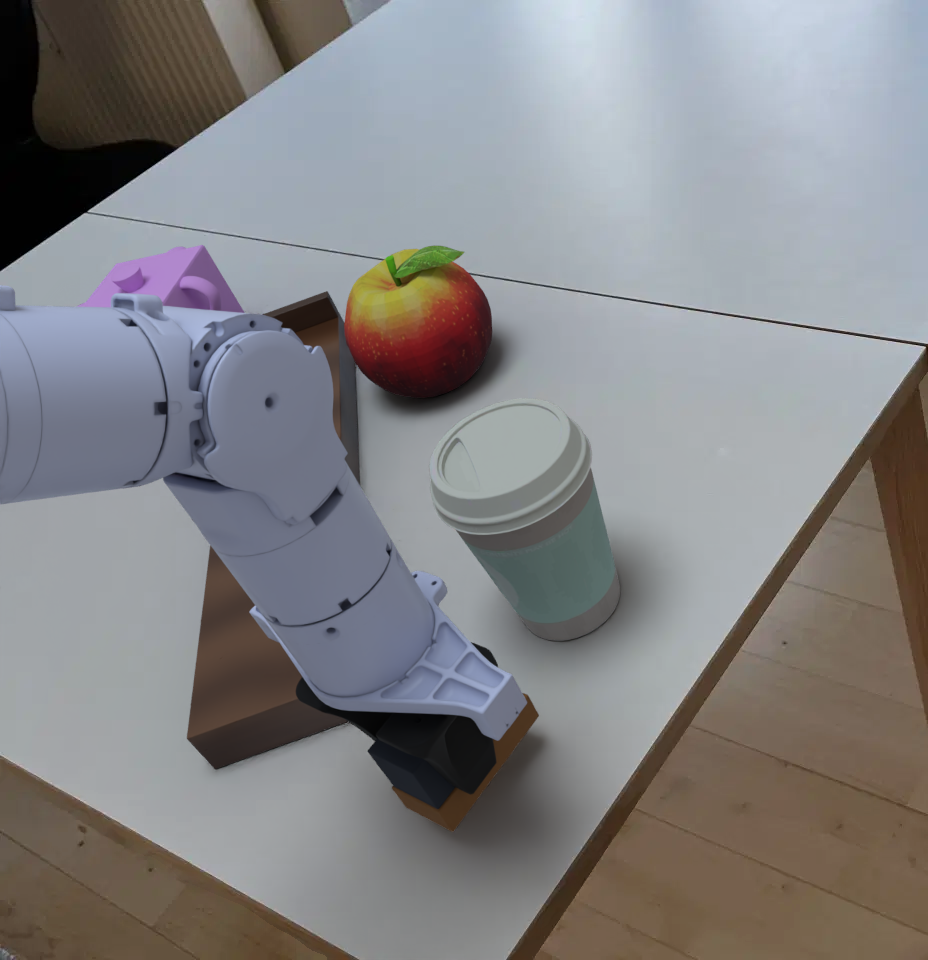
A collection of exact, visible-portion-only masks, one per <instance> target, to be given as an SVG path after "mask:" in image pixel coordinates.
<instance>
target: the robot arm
mask: <svg viewBox="0 0 928 960" xmlns="http://www.w3.org/2000/svg"><path fill="white" fill-rule="evenodd" d="M281 325H282V322H280V321H278V320H277V319H275V318H272V317H269V316H265V315H262V314H260V313H249V312H245V313H238V312H227V311H215V310H204V309H192V308H183V307H172V306H163V303H162V300H161V299H160V298H159V297H158V296H156V295H146V294H128V293H115V294H114V295H113V296H112V298H111V307H76V306H70V305H69V306H68V305H67V306H64V305H62V306H61V305H26V304H25V305H24V304H23V305H19V304H17V305H16V292H15V289H14V288H13V287H12V286H10V285H3V284H0V505H8V504H15V503H23V502H29V501H37V500H45V499H53V498H60V497H67V496H68V497H69V496H74V495H83V494H90V493H99V492H105V491H115V490H120V489H131V488H138V487H142V486H145V485H146V486H147V485H149V484H152V483H155V482H157V481H159V480H161V479H162V481H163V483H164V484H165V485H166V487H167V488H168V489H169V491H170V492H171V493H172V495H173V496H174V497H175V499H176V500H177V502H178V503H179V504H180V505H181V507H182V508H183V509H184V511H185V512H186V514H187V515H188V516H189V517H190V519H191V520H192V522H193V523H194V524H195V525H196V527H197V529H198V530H199V532H200V534H201V535H202V536H203V537H204V539H205V540H206V541H207V543H208V544H209V546H210V545H211V547H212V548H213V549H214V551H215V552H216V553H217V555H218V556H219V557H220V559H221V560H222V561H223V563H224V564H225V565H226V567H227V568H228V569H229V571H230V572H231V573H232V575H233V576H234V577H235V579H236V580H237V581H238V583H239V584H240V586H241V587H242V588H243V590H244V591H245V592H246V594H247V595H248V596H249V598H250V599H251V600H252V602H253V603H254V604H255V606H254V607H253V608H252V609H251V610H250V612H249V613H250V614H251V615H252V617H253V618H254V619H255V621H256V622H257V623H258V625H259V626H260V627H261V629H262V630H263V631H264V633H265V634H266V635H267V637H268V638H270V639H272V640H274V641H276V642H279V643H280V644H281V646H282V647H283V649H284V650H285V652H286V653H287V654H288V656H289V657H290V659H291V660H292V662H293V663H294V665H295V666H296V668H297V669H298V671H299V672H300V674H301V675H302V678H301V679H300V681H299V682H298V684H297V686H296V696H297V698H298V699H299V701H301V702H302V703H304V704H307V705H309V706H311V707H313V708H315V709H317V710H319V711H321V712H323V713H327V714H331V715H335V716H338V717H342V718H343V719H345V720H347V721H348V723H350V724H351V725H352V726H354V727H356V728H357V729H358V730H360V731H361V732H362V733H363V734H365V735H366V736H367V737H369V738H370V739H371V740H373V741H374V742H375V741H376V740H377V739H379V740H380V741H382V742H384V743H386V744H389V745H391V746H393V747H395V748H397V749H399V750H401V751H403V752H405V753H407V754H410V755H413V756H416V757H419V758H422V759H424V760H426V761H427V762H428V763H429V764H430V765H431V766H432V767H433V768H434V769H435V770H436V771H437V772H438V773H439V774H440V775H441V776H442V777H443V778H444V779H445V780H446V781H448V782H449V783H450V784H451V785H453V786H454V787H456V788H458V789H460V790H462V791H464V792H466V793H468V794H470V795H471V794H474V792H475V791H476V790H477V788H478V787H479V786H480V784H481V783H482V782H483V780H484V779H485V778H486V776H487V775H488V774H489V772H490V771H491V770H492V768H493V767H494V766H495V764H496V763H497V762H496V754H495V749H494V743H493V739H495V740H497V741H498V740H500V739H501V737H502V736H503V735H504V733H505V732H506V731H507V730H508V728H510V726H511V725H512V724H513V722H514V721H515V720H516V718H517V717H518V716H519V714H520V712H521V711H522V710H523V708H524V707H525V706H526V704H527V701H526V699H525V697H524V695H523V693H524V692H522V690H521V688H520V686H519V685H518V682H517V681H516V678H515V677H514V676H513V673H511V672H508V671H506V670H504V669H502V668H500V667H499V665H498V662H497V660H496V657H495V656H494V654H493V652H492V651H491V650H490V649H488V648H486V647H485V646H482V645H479V644H477V643H474V642H472V641H470V640H469V639H468V638H467V637H466V635H465V634H464V633H463V632H462V630H461V629H460V628H458V626H456V624H455V623H454V622H453V621H452V620H451V619H450V618H449V616H448V615H447V614H446V613H445V612H444V611H443V610H442V609H441V608H440V604H441V602H442V601H443V600H444V599H445V597H446V596H447V594H448V587H447V585H446V584H445V582H444V580H443V578H441V577H440V576H438V575H435V574H433V573H432V574H431V573H429V572H426V571H423V570H414V571H410V569H409V567H408V566H407V564H406V562H405V560H404V559H403V557H402V555H401V553H400V552H399V550H398V548H397V546H396V545H395V543H394V542H393V540H392V538H391V536H390V535H389V533H388V531H387V529H386V527H385V526H384V523H382V520H381V519H380V517H379V516H378V514H377V512H376V510H375V508H374V507H373V505H372V503H371V502H370V500H369V498H368V497H367V495H366V494H365V492H364V489H362V487H361V484H360V485H359V483H358V481H357V480H356V478H355V476H354V475H353V473H352V471H351V470H350V468H349V466H348V464H347V463H346V461H345V457H346V455H347V454H348V453H347V451H346V449H345V447H344V446H343V444H342V442H341V441H340V439H339V437H338V435H337V433H336V431H335V428H334V423H333V382H332V376H331V371H330V367H329V364H328V361H327V358H326V356H325V354H324V352H323V349H322V348H321V347H320V346H316V347H314V349H313V348H312V346H307V345H304V344H303V343H302V341H301V340H300V339H299V337H298V336H297V335H296V334H295V333H294V331H292V330H291V329H288V328H282V327H281Z"/></svg>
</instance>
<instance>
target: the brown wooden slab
mask: <svg viewBox="0 0 928 960" xmlns="http://www.w3.org/2000/svg"><path fill="white" fill-rule="evenodd" d="M261 315H265V316H269V317H272V318H275V319H277V320H278V321H280V322H282V325H281V327H282V328H288V329H291V330H292V331H294V333H295V334H296V335H297V336H298V337H299V339H300V340H301V341H302V343H303V344H304V345H307V346H312V348H313V349H314V347H316V346H320V347H321V348H322V349H323V352H324V354H325V356H326V358H327V361H328V364H329V367H330V371H331V376H332V382H333V423H334V428H335V431H336V433H337V435H338V437H339V439H340V441H341V442H342V444H343V446H344V447H345V449H346V451H347V453H348V454H347V455H346V457H345V461H346V463H347V464H348V466H349V468H350V470H351V471H352V473H353V475H354V476H355V478H356V480H357V481H358V483H359V485H360V486H361V484H360V483H361V482H360V458H359V457H360V456H359V455H360V454H359V432H358V431H359V430H358V405H357V404H358V403H357V382H356V363H355V361H354V359H353V357H352V355H351V353H350V350H349V348H348V346H347V343H346V338H345V330H344V323H345V320H344V319H343V317H342V316H341V313H340V312H339V310H338V308H337V305H336V304H335V301H334V300H333V298H332V296H331V294H330V293H329V291H327V290H326V291H323V292H320V293H318V294H315V295H312V296H309V297H306V298H304V299H301V300H298V301H296V302H293V303H290V304H287V305H285V306H282V307H279V308H276V309H274V310H271V311H268V312H265V313H262V314H261ZM207 560H208V561H207V567H206V576H205V584H204V592H203V593H204V594H203V600H202V601H203V602H202V608H201V609H202V610H201V617H200V625H199V633H198V640H197V641H198V642H197V650H196V659H195V666H194V667H195V668H194V674H193V675H194V676H193V683H192V691H191V701H190V708H189V716H188V724H187V733H186V740H187V741H188V742H189V744H191V745H192V746H193V747H194V748H195V750H196V751H197V752H198V753H199V754H200V755H201V756H202V757H203V758H204V759H205V761H207V762H208V764H209V765H210V766H211V767H212V768H213V769H214V770H217V769H219V768H222V767H226V766H228V765H231V764H234V763H236V762H239V761H242V760H245V759H248V758H250V757H254V756H256V755H259V754H260V753H261V754H262V753H264V752H267V751H270V750H273V749H275V748H279V747H281V746H284V745H287V744H290V743H292V742H294V741H297V740H300V739H303V738H306V737H309V736H312V735H315V734H318V733H320V732H322V731H325V730H328V729H331V728H333V727H336V726H339V725H342V724H345V723H347V722H348V721H347V720H345V719H343V718H342V717H338V716H335V715H331V714H327V713H323V712H321V711H319V710H317V709H315V708H313V707H311V706H309V705H307V704H304V703H302V702H301V701H299V699H298V698H297V696H296V686H297V684H298V682H299V681H300V679H301V678H302V675H301V674H300V672H299V671H298V669H297V668H296V666H295V665H294V663H293V662H292V660H291V659H290V657H289V656H288V654H287V653H286V652H285V650H284V649H283V647H282V646H281V644H280V643H279V642H276V641H274V640H272V639H270V638H268V637H267V635H266V634H265V633H264V631H263V630H262V629H261V627H260V626H259V625H258V623H257V622H256V621H255V619H254V618H253V617H252V615H251V614H250V613H249V612H250V610H251V609H252V608H253V607H254V606H255V604H254V603H253V602H252V600H251V599H250V598H249V596H248V595H247V594H246V592H245V591H244V590H243V588H242V587H241V586H240V584H239V583H238V581H237V580H236V579H235V577H234V576H233V575H232V573H231V572H230V571H229V569H228V568H227V567H226V565H225V564H224V563H223V561H222V560H221V559H220V557H219V556H218V555H217V553H216V552H215V551H214V549H213V548H212V547H211V545H210V544H209V552H208V559H207ZM348 723H349V722H348Z"/></svg>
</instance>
